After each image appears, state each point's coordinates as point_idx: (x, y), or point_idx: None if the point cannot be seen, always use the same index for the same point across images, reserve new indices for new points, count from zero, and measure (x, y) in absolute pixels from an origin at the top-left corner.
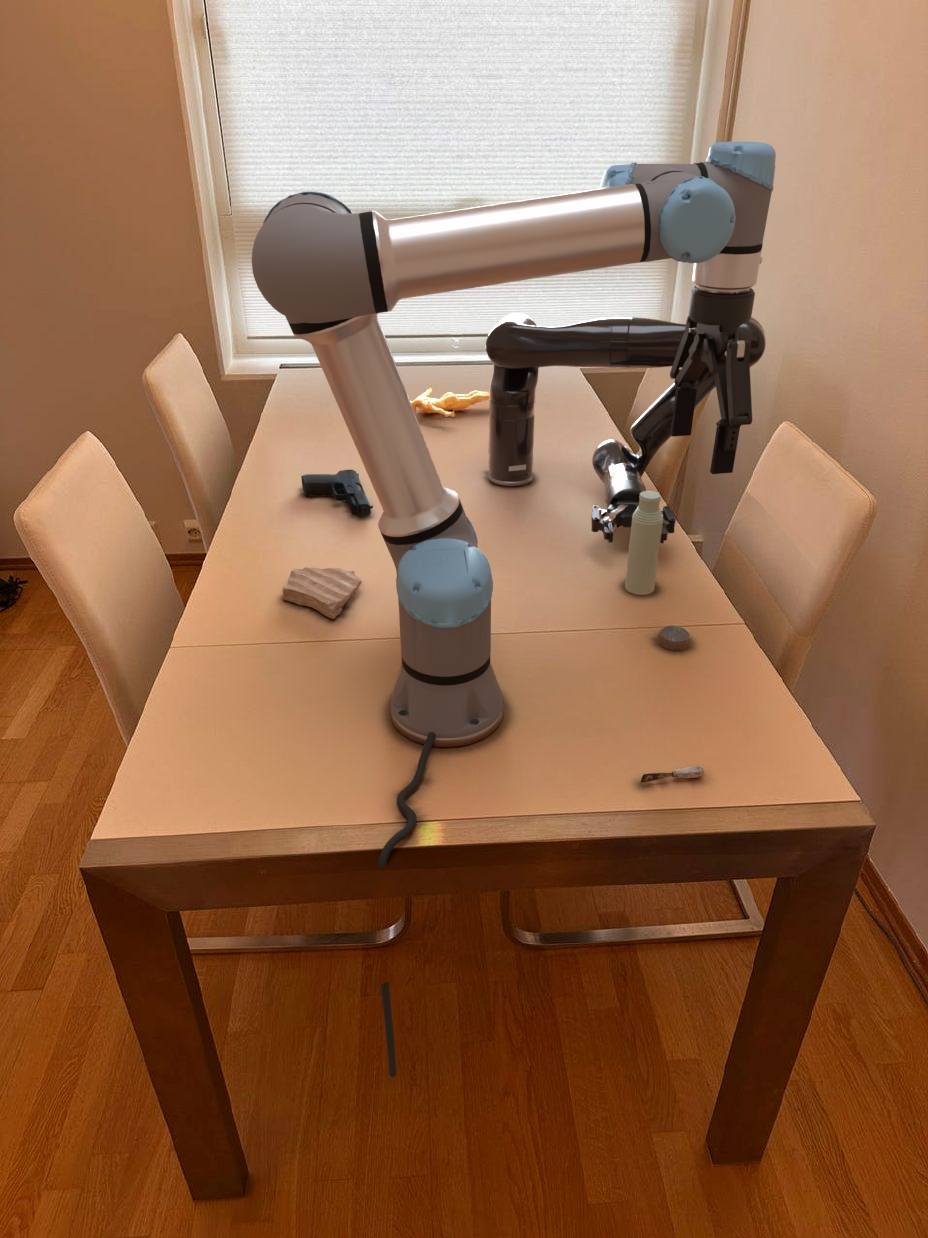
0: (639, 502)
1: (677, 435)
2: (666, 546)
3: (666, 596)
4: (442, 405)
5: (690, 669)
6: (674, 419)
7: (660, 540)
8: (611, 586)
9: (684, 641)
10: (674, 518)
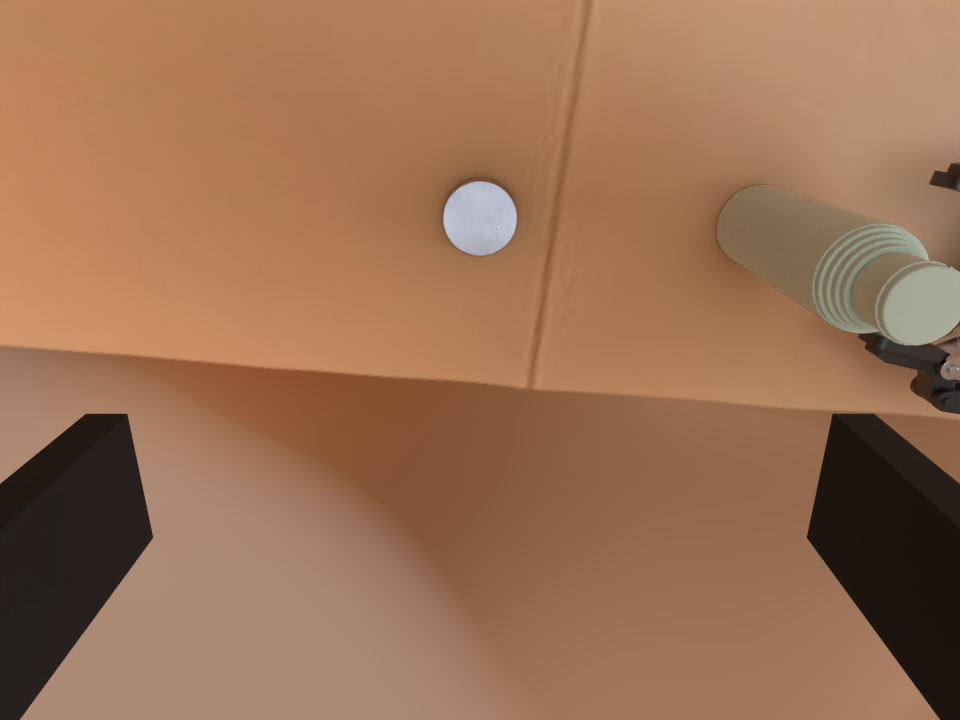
0: (920, 258)
1: (828, 451)
2: None
3: (692, 279)
4: None
5: (363, 212)
6: (914, 486)
7: None
8: (790, 148)
9: (445, 231)
10: (948, 410)
